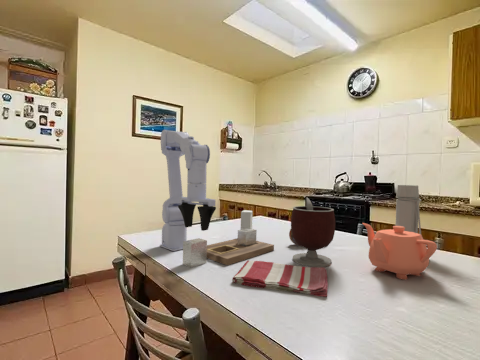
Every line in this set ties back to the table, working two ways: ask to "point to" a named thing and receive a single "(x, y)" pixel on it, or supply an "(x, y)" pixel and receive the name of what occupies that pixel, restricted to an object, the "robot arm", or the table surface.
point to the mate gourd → (312, 233)
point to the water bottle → (408, 208)
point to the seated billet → (247, 237)
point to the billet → (194, 252)
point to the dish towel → (283, 277)
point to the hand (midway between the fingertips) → (196, 228)
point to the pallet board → (235, 251)
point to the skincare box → (246, 219)
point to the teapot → (399, 251)
